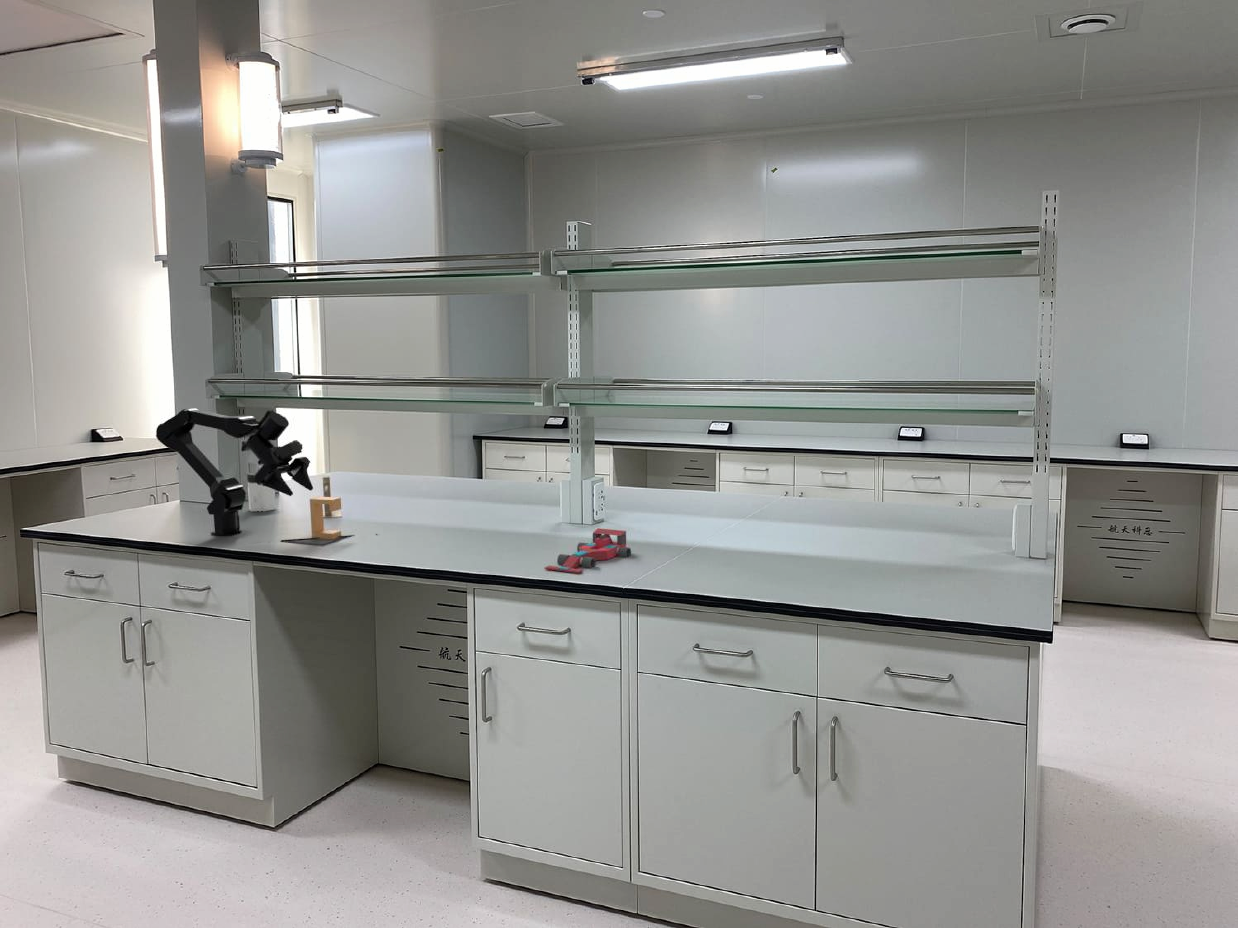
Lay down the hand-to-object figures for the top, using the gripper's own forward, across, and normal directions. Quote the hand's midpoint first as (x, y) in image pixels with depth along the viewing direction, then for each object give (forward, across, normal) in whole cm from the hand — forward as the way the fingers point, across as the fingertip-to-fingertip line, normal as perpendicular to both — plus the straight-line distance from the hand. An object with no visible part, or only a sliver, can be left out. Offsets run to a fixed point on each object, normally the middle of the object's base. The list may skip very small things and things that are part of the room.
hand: (302, 492), depth 271 cm
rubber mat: (+12, 0, +6) cm, 14 cm away
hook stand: (+4, +21, +14) cm, 26 cm away
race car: (+70, -7, -52) cm, 88 cm away
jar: (-20, +36, +38) cm, 56 cm away
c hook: (+14, 0, +4) cm, 14 cm away
